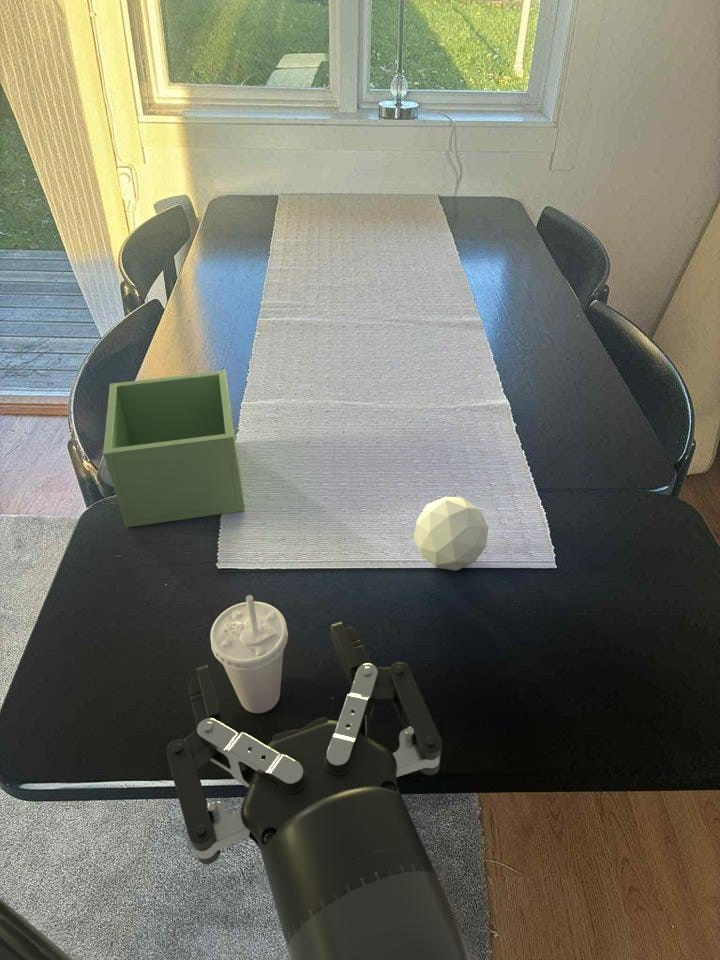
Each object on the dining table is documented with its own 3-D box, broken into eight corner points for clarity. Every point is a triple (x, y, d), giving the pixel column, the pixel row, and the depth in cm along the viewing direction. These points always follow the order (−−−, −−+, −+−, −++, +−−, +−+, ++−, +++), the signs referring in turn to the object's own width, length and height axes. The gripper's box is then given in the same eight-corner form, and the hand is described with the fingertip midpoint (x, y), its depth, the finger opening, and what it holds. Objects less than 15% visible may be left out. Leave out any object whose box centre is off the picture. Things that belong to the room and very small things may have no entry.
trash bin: (126, 528, 81) (102, 453, 73) (130, 455, 91) (110, 383, 83) (244, 510, 83) (233, 437, 75) (235, 441, 93) (225, 370, 85)
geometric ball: (463, 581, 78) (498, 571, 71) (397, 564, 76) (426, 553, 69) (471, 516, 80) (506, 500, 73) (407, 498, 78) (437, 480, 71)
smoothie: (285, 731, 61) (271, 635, 52) (215, 721, 62) (189, 624, 53) (301, 669, 66) (291, 571, 57) (236, 660, 67) (215, 562, 58)
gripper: (513, 827, 32) (375, 578, 43) (200, 965, 28) (142, 651, 39) (496, 891, 36) (376, 652, 48) (227, 1016, 33) (168, 723, 44)
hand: (271, 652), depth 44 cm, fingers open, 8 cm apart
